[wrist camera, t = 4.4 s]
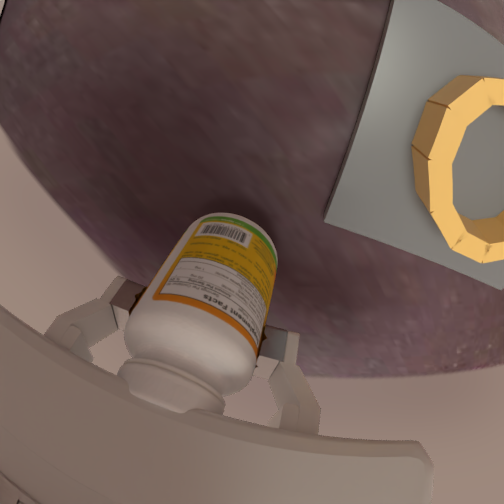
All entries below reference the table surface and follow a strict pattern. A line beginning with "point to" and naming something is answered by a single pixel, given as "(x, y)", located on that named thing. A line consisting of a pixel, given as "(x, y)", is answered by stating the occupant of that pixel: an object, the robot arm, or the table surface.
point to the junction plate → (430, 144)
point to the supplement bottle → (202, 316)
